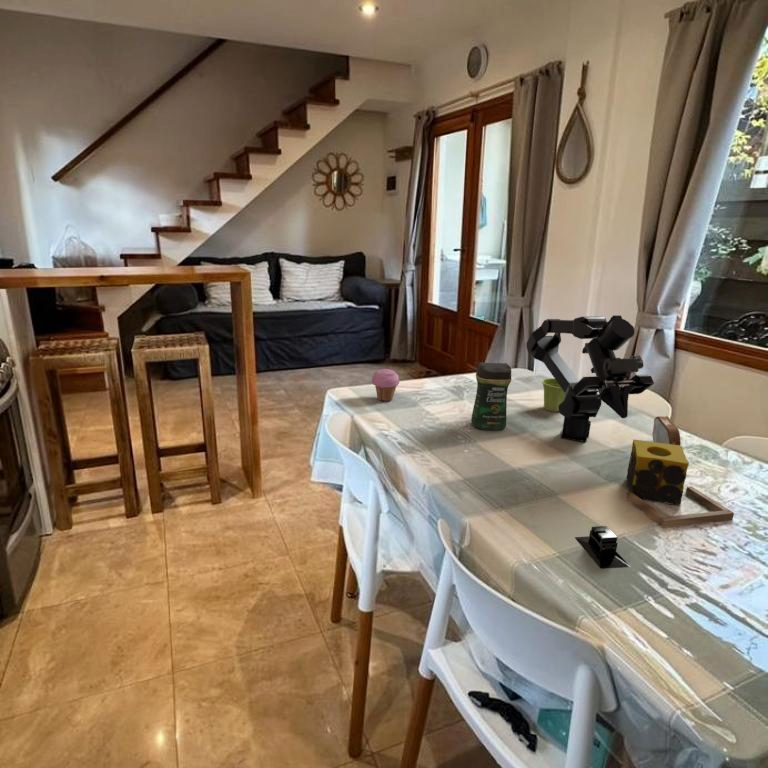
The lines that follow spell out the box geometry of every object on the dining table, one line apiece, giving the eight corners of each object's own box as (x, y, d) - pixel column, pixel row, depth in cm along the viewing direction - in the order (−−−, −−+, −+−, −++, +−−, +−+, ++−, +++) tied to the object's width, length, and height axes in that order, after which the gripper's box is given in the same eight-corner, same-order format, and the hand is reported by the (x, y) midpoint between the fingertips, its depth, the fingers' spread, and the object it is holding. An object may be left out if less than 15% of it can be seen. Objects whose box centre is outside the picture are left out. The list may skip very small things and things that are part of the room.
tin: (678, 464, 131) (685, 433, 129) (664, 463, 132) (671, 431, 129) (660, 440, 145) (666, 412, 143) (648, 439, 146) (654, 410, 143)
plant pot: (573, 408, 169) (576, 381, 166) (565, 416, 161) (569, 389, 158) (543, 401, 173) (547, 376, 171) (534, 409, 166) (538, 383, 163)
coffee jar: (474, 431, 147) (480, 366, 142) (468, 420, 155) (474, 359, 149) (509, 431, 148) (516, 367, 142) (501, 421, 156) (507, 359, 150)
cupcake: (398, 404, 166) (399, 373, 163) (370, 403, 166) (371, 372, 163) (398, 395, 175) (399, 366, 172) (371, 394, 175) (372, 365, 172)
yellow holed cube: (673, 485, 120) (682, 445, 117) (681, 507, 111) (691, 463, 108) (625, 477, 124) (632, 437, 121) (629, 497, 114) (637, 455, 111)
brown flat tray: (625, 498, 114) (626, 492, 113) (690, 492, 117) (691, 486, 117) (662, 527, 103) (664, 520, 103) (732, 519, 107) (734, 512, 107)
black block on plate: (566, 535, 101) (569, 514, 99) (601, 533, 102) (605, 512, 100) (600, 577, 89) (604, 554, 88) (640, 574, 90) (645, 551, 89)
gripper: (587, 343, 123) (609, 404, 116) (656, 342, 127) (681, 401, 120) (564, 367, 133) (583, 424, 126) (629, 365, 137) (650, 420, 130)
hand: (624, 417), depth 125 cm, fingers closed
